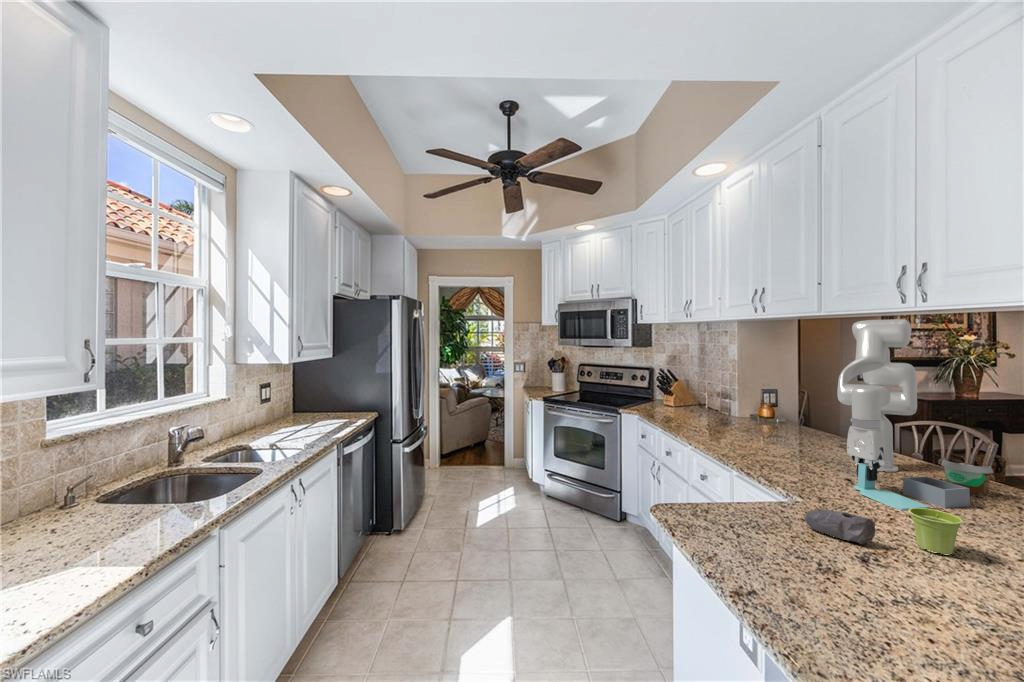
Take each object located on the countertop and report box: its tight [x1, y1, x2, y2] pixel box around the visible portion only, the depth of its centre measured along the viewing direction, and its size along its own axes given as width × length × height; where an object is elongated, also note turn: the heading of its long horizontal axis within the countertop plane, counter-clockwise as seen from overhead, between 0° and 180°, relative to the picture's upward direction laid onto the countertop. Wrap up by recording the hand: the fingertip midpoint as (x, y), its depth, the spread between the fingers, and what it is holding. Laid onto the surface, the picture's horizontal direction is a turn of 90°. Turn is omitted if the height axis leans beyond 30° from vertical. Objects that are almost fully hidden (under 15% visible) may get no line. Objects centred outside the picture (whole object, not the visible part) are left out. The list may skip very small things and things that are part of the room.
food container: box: [941, 457, 994, 497], centre depth 143 cm, size 12×6×10 cm, turn 25°
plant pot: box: [908, 508, 963, 555], centre depth 105 cm, size 9×9×9 cm
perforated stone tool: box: [803, 509, 877, 545], centre depth 112 cm, size 15×5×7 cm, turn 37°
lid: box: [853, 463, 930, 511], centre depth 137 cm, size 17×10×9 cm, turn 9°
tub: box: [902, 475, 971, 509], centre depth 135 cm, size 12×9×6 cm
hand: (866, 478), depth 143 cm, fingers open, 3 cm apart
